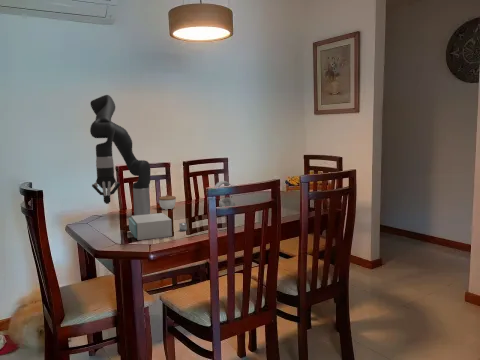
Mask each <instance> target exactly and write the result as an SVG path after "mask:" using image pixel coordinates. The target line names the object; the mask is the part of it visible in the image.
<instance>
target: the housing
mask: <svg viewBox="0 0 480 360" xmlns="http://www.w3.org/2000/svg"><path fill="white" fill-rule="evenodd" d="M130 217H131V218H132V220H133V221H134V222H135V224H136V226H137V238H136V240H137V241H144V240H151V239H162V238H168V237H169V238H170V237H173V233H172V232H173V228H172V226H173V225H172V224H173V223H172V219H171V218H170V217H168V216H167V215H166V214H165V213H164V212H159V213H150V214H146V215H135V216H134V215H131V216H130Z"/></svg>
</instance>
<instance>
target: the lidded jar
mask: <svg viewBox="0 0 480 360" xmlns="http://www.w3.org/2000/svg"><path fill="white" fill-rule="evenodd" d="M176 201H177V200H176V196H174V195H169V194H166V195H162V196H159V197H158V202H159V206H160V208H161V209H162V210H163V209H165V210H164V211H168V210H167V209H171V210H173V209H174V207H175V205H176Z"/></svg>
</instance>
